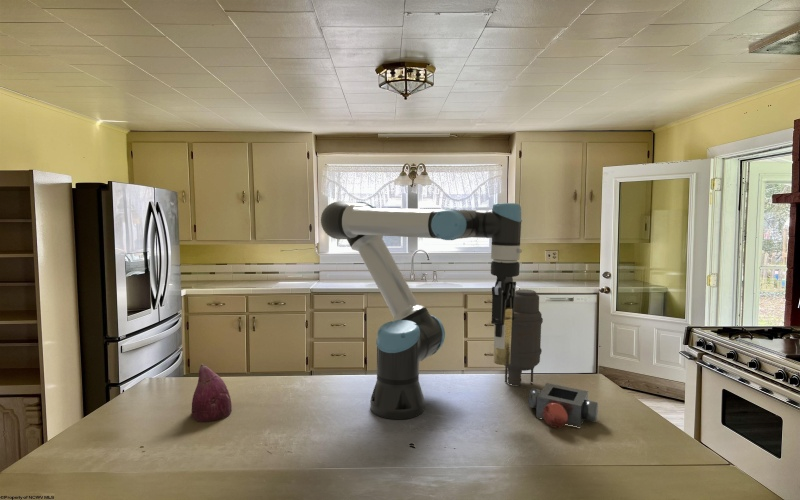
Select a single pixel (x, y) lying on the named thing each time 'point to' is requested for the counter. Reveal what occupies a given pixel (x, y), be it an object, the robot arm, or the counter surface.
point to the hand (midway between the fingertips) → (502, 345)
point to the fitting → (505, 354)
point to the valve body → (562, 405)
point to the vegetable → (210, 397)
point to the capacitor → (524, 336)
